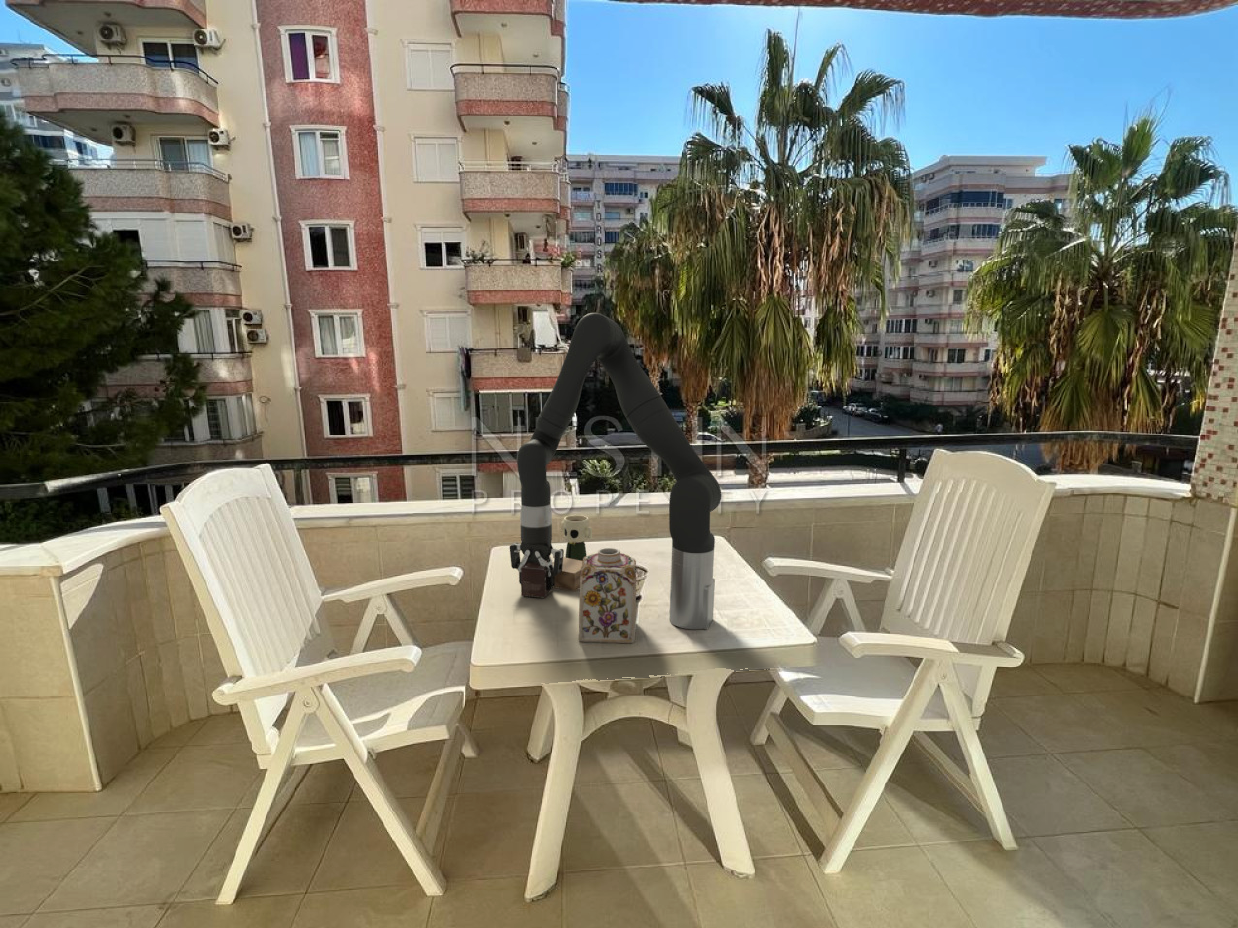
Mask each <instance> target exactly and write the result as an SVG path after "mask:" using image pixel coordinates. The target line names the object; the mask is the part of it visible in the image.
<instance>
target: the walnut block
mask: <svg viewBox="0 0 1238 928" xmlns="http://www.w3.org/2000/svg"><path fill="white" fill-rule="evenodd" d="M552 562H553V566H554V561H552ZM581 567H582V561H580V560H575V559H570V558H565V556H563V567H562V572H560V573H559V574H557V575H555V586H554V587H553V588H556V589H557V588H558V589H562V590H566V591H569V592H570V591H571V592H576V591H578V590H580V580H579V579H580V573H581V570H582V569H581Z"/></svg>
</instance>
